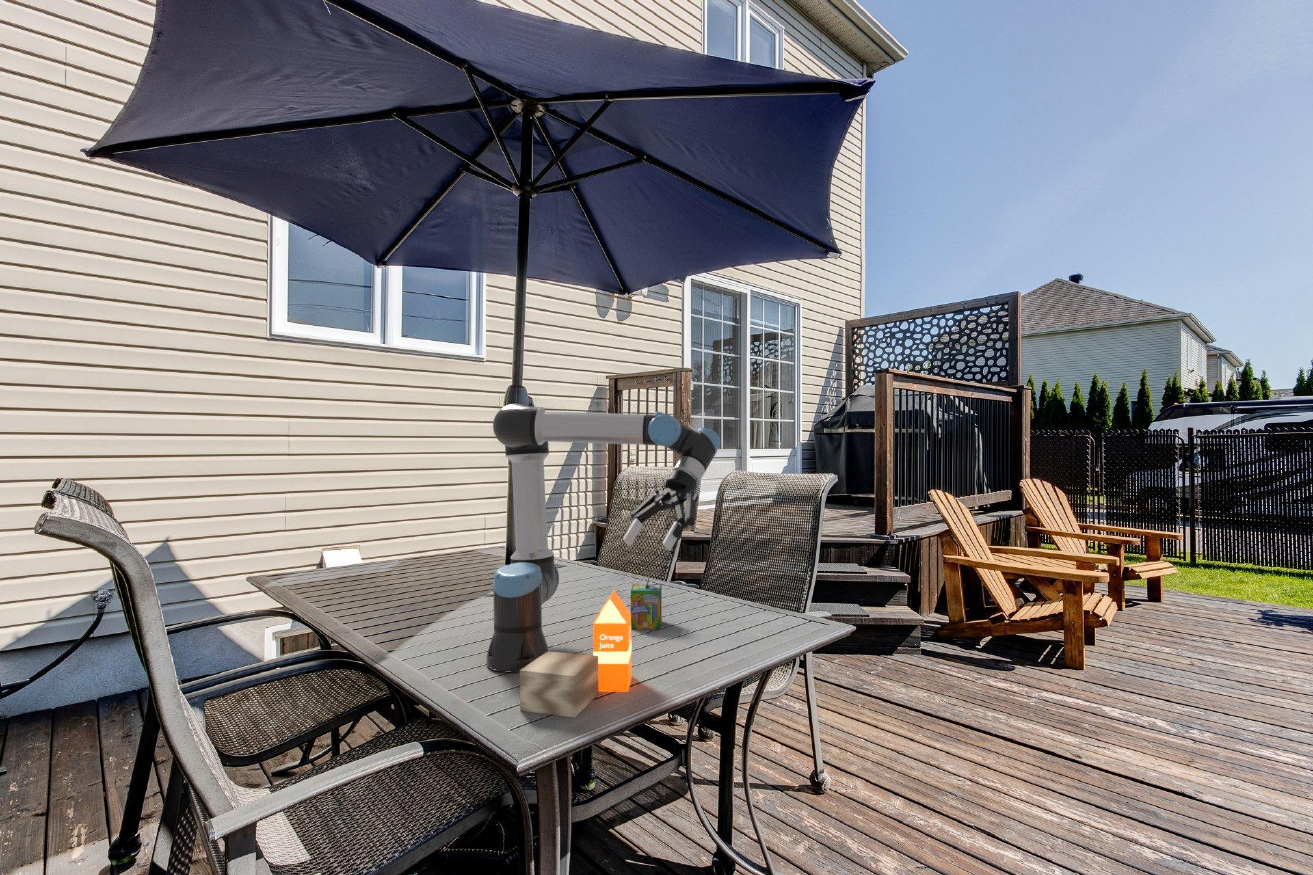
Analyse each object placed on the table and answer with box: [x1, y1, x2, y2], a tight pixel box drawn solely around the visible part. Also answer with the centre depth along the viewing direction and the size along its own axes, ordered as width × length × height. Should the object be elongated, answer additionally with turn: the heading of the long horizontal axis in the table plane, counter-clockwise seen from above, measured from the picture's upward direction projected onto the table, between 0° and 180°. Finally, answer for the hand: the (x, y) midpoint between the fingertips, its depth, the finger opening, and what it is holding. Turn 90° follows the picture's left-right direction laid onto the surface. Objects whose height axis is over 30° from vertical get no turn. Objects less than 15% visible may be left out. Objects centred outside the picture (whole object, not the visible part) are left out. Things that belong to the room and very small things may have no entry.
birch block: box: [519, 650, 600, 718], centre depth 124 cm, size 12×12×8 cm
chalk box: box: [630, 574, 663, 630], centre depth 178 cm, size 9×9×15 cm
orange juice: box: [592, 589, 633, 693], centre depth 133 cm, size 8×9×20 cm
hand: (645, 544), depth 143 cm, fingers open, 13 cm apart
